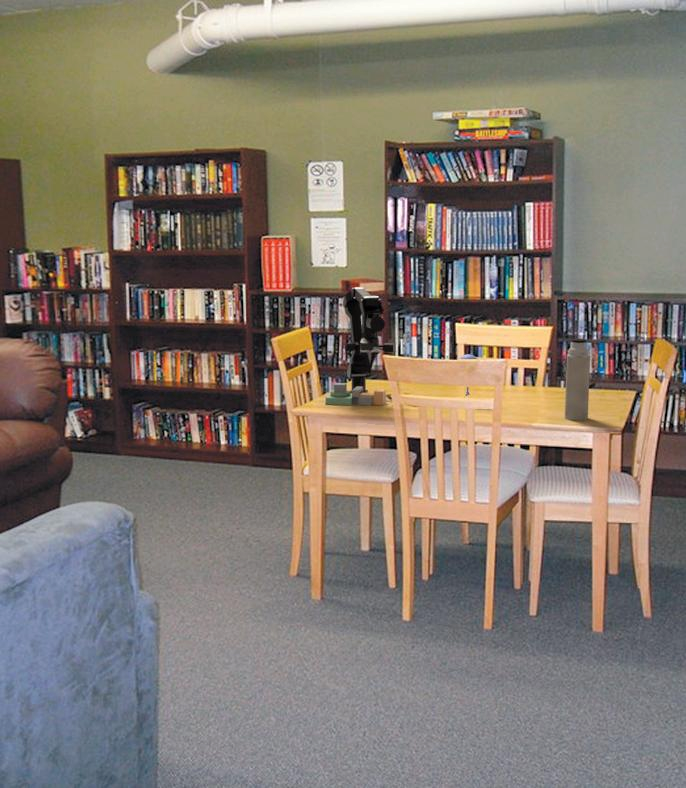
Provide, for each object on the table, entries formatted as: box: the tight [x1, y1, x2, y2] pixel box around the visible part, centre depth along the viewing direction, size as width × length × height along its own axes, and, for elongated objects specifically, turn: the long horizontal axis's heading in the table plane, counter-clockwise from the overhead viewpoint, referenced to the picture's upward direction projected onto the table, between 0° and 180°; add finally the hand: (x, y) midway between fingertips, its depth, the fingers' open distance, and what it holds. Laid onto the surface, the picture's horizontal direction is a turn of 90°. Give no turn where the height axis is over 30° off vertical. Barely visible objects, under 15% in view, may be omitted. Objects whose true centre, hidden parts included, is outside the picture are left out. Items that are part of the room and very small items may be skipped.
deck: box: [325, 382, 373, 406], centre depth 408 cm, size 11×18×7 cm, turn 77°
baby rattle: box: [459, 354, 478, 397], centre depth 409 cm, size 9×9×18 cm
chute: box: [359, 388, 387, 406], centre depth 406 cm, size 6×12×5 cm, turn 77°
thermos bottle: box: [564, 338, 591, 421], centre depth 374 cm, size 8×8×28 cm
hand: (370, 369), depth 411 cm, fingers closed
